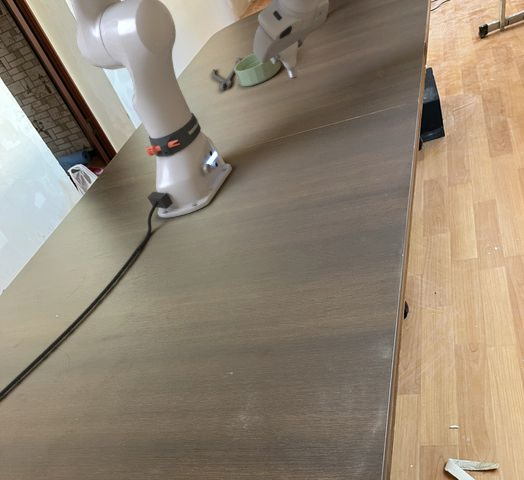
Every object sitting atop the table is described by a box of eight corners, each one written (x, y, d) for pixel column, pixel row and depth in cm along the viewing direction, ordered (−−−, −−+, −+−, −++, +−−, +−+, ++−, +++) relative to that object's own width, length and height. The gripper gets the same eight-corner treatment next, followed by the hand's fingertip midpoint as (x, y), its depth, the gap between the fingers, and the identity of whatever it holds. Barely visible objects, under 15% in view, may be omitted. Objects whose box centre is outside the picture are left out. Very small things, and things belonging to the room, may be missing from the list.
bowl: (277, 78, 149) (271, 61, 145) (236, 92, 154) (229, 76, 151) (285, 59, 157) (280, 42, 154) (245, 73, 163) (239, 57, 160)
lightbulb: (300, 69, 127) (287, 23, 120) (311, 73, 122) (297, 25, 115) (279, 81, 127) (264, 35, 120) (288, 86, 122) (273, 38, 115)
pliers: (239, 56, 175) (240, 80, 157) (240, 59, 175) (241, 82, 158) (212, 69, 177) (209, 93, 160) (213, 71, 178) (211, 96, 161)
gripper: (322, -27, 109) (309, 22, 123) (252, 18, 106) (246, 63, 119) (340, -6, 109) (325, 41, 123) (270, 40, 105) (262, 83, 119)
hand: (285, 52), depth 121 cm, fingers closed on lightbulb, 6 cm apart
